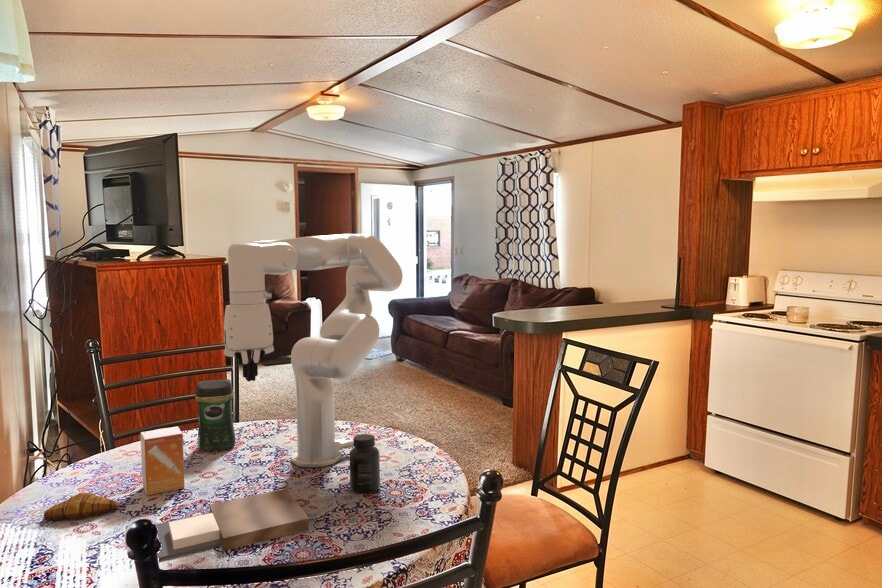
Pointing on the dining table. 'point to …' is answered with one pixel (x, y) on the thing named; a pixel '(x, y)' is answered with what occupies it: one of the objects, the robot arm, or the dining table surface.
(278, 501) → the board
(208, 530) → the block
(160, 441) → the small box
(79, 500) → the croissant
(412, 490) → the dining table surface
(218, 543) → the mat
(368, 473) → the supplement bottle
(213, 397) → the coffee jar
